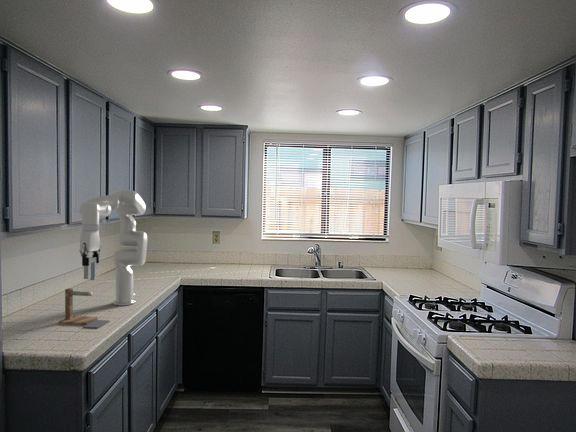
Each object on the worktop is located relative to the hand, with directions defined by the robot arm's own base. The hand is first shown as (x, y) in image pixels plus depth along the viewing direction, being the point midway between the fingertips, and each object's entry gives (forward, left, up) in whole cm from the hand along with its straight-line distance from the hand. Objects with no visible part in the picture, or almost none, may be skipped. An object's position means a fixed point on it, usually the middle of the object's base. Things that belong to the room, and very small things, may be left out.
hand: (90, 264), depth 205 cm
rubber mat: (+2, +4, -29) cm, 29 cm away
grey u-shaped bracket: (0, 0, -8) cm, 8 cm away
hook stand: (-2, -7, -29) cm, 30 cm away
